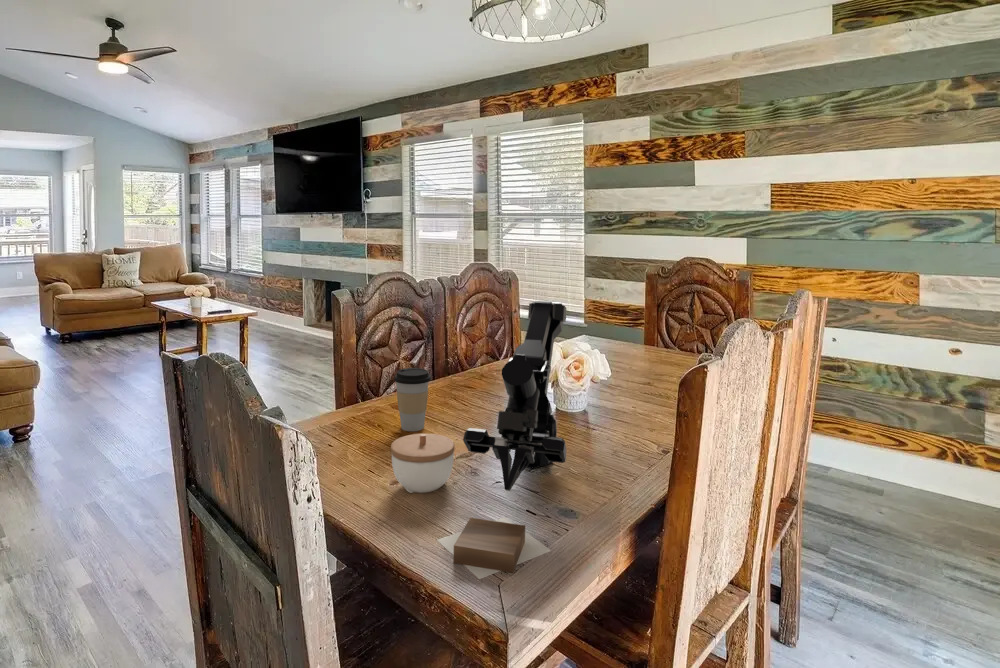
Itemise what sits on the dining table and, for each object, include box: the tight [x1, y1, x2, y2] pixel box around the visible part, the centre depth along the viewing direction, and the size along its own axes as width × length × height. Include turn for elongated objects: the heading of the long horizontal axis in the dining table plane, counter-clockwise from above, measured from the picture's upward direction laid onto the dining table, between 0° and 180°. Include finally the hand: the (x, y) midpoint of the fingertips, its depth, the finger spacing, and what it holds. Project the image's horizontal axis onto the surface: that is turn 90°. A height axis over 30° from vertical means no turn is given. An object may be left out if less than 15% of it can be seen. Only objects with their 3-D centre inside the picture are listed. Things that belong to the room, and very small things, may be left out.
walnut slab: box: [453, 517, 526, 574], centre depth 94 cm, size 3×10×9 cm
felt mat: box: [436, 517, 552, 580], centre depth 96 cm, size 13×14×1 cm
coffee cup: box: [393, 367, 432, 432], centre depth 150 cm, size 9×9×15 cm
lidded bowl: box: [390, 433, 456, 494], centre depth 117 cm, size 13×13×11 cm
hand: (507, 489), depth 104 cm, fingers closed
